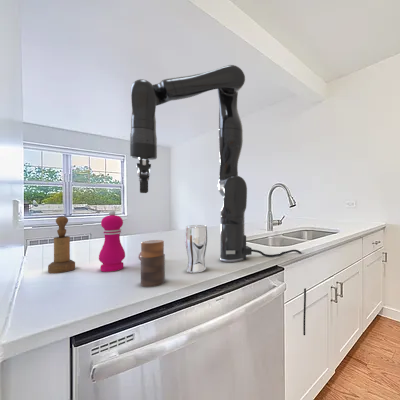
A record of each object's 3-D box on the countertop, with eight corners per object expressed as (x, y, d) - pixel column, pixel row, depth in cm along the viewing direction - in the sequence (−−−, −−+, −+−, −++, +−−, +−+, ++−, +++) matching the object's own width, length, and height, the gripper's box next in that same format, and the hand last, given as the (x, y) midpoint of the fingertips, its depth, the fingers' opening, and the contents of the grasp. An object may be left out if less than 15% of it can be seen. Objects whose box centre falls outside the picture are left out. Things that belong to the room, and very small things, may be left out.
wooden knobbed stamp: (45, 274, 80) (45, 217, 80) (50, 269, 85) (50, 216, 85) (74, 271, 84) (73, 216, 84) (76, 266, 89) (76, 215, 89)
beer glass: (181, 270, 86) (181, 225, 85) (201, 266, 90) (202, 224, 90) (190, 274, 81) (190, 227, 80) (210, 270, 86) (211, 226, 85)
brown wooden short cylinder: (163, 252, 76) (163, 239, 76) (164, 256, 72) (164, 242, 72) (141, 254, 73) (141, 240, 73) (141, 258, 69) (141, 244, 69)
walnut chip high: (163, 265, 77) (163, 252, 77) (165, 270, 72) (165, 256, 72) (140, 268, 74) (140, 254, 73) (140, 273, 68) (140, 258, 68)
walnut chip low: (163, 278, 77) (163, 265, 77) (165, 284, 72) (165, 270, 72) (140, 281, 74) (140, 268, 74) (140, 288, 69) (140, 273, 68)
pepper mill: (111, 273, 82) (111, 211, 82) (93, 271, 83) (92, 210, 83) (130, 267, 89) (130, 210, 89) (113, 265, 90) (113, 209, 90)
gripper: (158, 141, 80) (158, 192, 80) (155, 148, 92) (155, 193, 92) (129, 138, 76) (129, 192, 76) (130, 146, 88) (130, 192, 88)
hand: (143, 192), depth 84 cm, fingers open, 8 cm apart
